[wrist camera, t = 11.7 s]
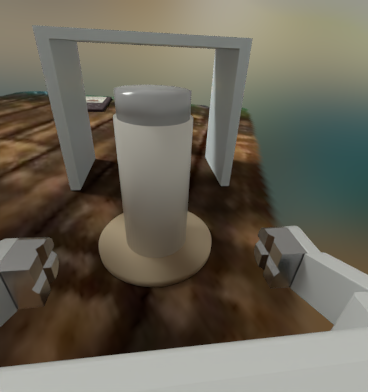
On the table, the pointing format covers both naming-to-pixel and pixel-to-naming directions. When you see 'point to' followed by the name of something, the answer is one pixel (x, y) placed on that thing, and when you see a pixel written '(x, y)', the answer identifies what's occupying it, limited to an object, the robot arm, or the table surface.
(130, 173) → the shaker
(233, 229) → the table surface
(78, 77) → the tunnel
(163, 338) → the table surface
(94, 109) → the chocolate bar
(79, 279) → the table surface
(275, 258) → the robot arm
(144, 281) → the coaster
